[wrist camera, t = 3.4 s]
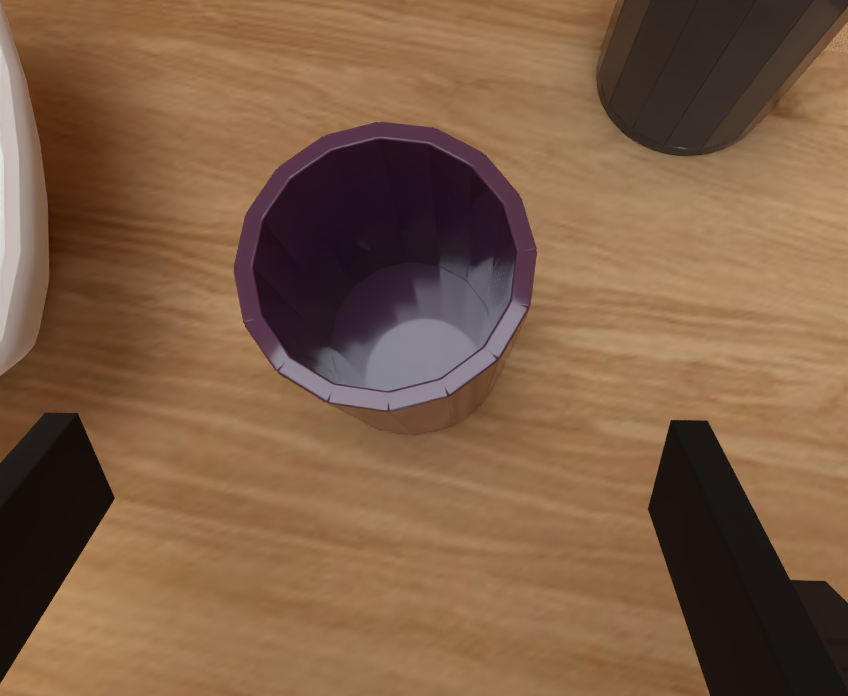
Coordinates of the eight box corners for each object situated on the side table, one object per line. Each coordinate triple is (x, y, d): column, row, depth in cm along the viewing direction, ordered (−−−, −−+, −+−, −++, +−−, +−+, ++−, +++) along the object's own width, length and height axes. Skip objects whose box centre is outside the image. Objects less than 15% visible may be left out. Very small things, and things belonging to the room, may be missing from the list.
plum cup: (537, 311, 25) (590, 206, 15) (444, 470, 24) (434, 469, 14) (383, 225, 26) (338, 77, 16) (287, 374, 25) (177, 311, 15)
